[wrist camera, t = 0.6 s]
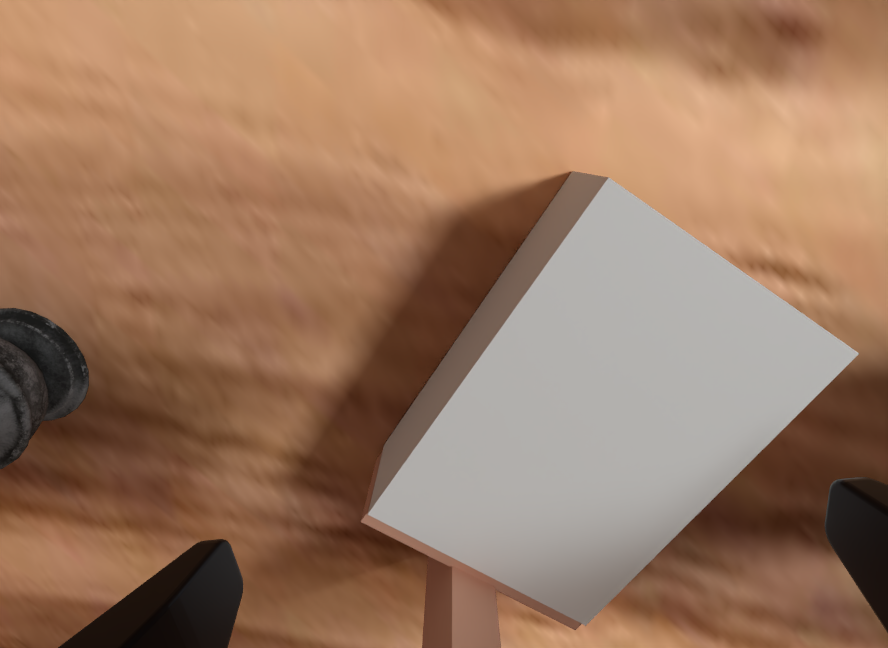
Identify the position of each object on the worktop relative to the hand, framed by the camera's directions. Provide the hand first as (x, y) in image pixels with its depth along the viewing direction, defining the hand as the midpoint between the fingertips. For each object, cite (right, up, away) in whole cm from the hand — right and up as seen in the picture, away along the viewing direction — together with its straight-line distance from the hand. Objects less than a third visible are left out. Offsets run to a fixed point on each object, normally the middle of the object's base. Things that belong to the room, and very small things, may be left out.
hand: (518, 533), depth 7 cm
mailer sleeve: (+4, +1, +14) cm, 14 cm away
